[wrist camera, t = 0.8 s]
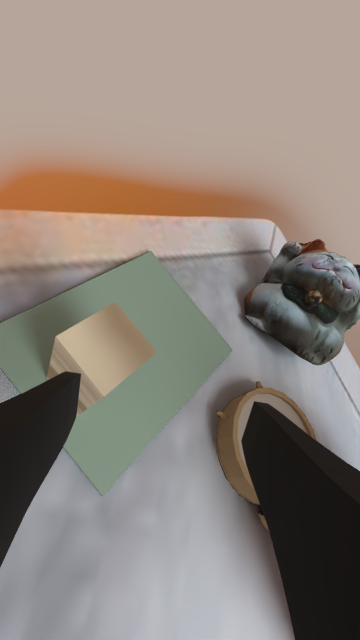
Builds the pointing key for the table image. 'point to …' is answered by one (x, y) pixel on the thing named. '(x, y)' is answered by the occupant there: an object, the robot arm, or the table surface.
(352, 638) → the robot arm
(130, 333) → the birch block
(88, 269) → the table surface
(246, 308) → the lucky cat figurine
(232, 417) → the alarm clock
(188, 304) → the rubber mat
